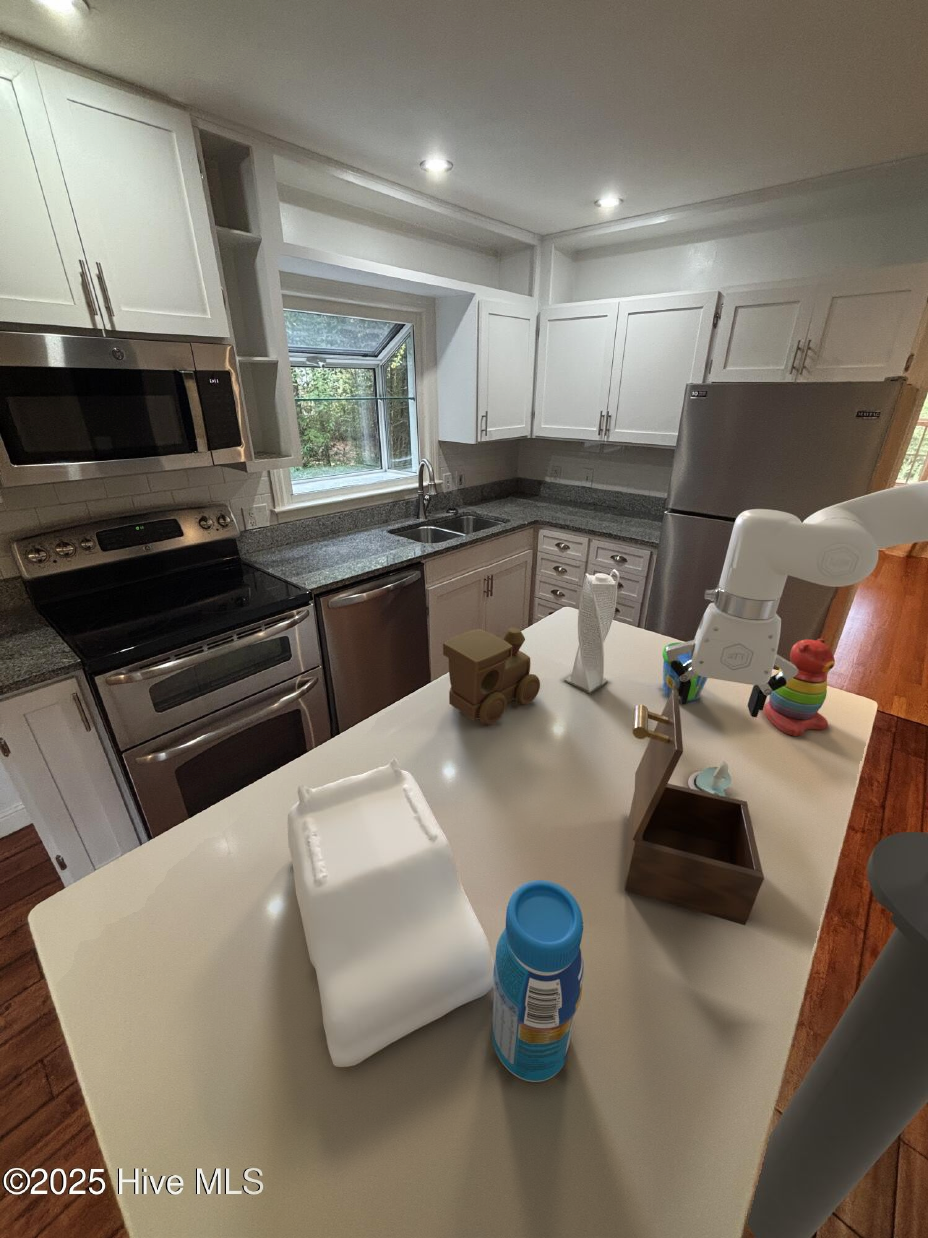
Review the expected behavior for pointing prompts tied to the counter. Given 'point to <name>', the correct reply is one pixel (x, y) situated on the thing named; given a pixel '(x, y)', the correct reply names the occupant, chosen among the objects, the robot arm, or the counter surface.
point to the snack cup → (672, 678)
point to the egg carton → (382, 911)
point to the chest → (697, 854)
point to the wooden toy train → (489, 673)
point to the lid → (655, 758)
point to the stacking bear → (802, 690)
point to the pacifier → (711, 779)
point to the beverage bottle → (537, 980)
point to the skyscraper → (593, 630)
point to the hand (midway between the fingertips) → (716, 705)
